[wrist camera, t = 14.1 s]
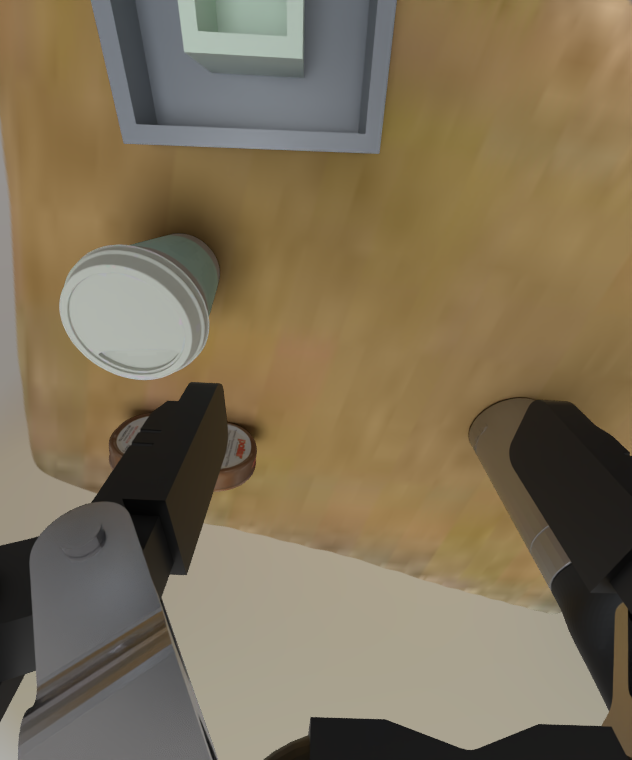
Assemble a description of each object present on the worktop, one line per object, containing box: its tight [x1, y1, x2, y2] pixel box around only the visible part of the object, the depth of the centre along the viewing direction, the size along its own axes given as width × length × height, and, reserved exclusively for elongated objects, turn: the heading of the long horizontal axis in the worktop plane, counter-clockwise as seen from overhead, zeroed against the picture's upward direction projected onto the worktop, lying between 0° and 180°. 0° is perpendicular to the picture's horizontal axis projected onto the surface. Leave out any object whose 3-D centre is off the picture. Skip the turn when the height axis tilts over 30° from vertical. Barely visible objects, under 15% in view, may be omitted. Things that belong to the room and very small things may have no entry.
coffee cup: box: [59, 233, 220, 380], centre depth 25 cm, size 8×8×12 cm
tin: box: [109, 413, 257, 492], centre depth 37 cm, size 15×3×8 cm, turn 78°
